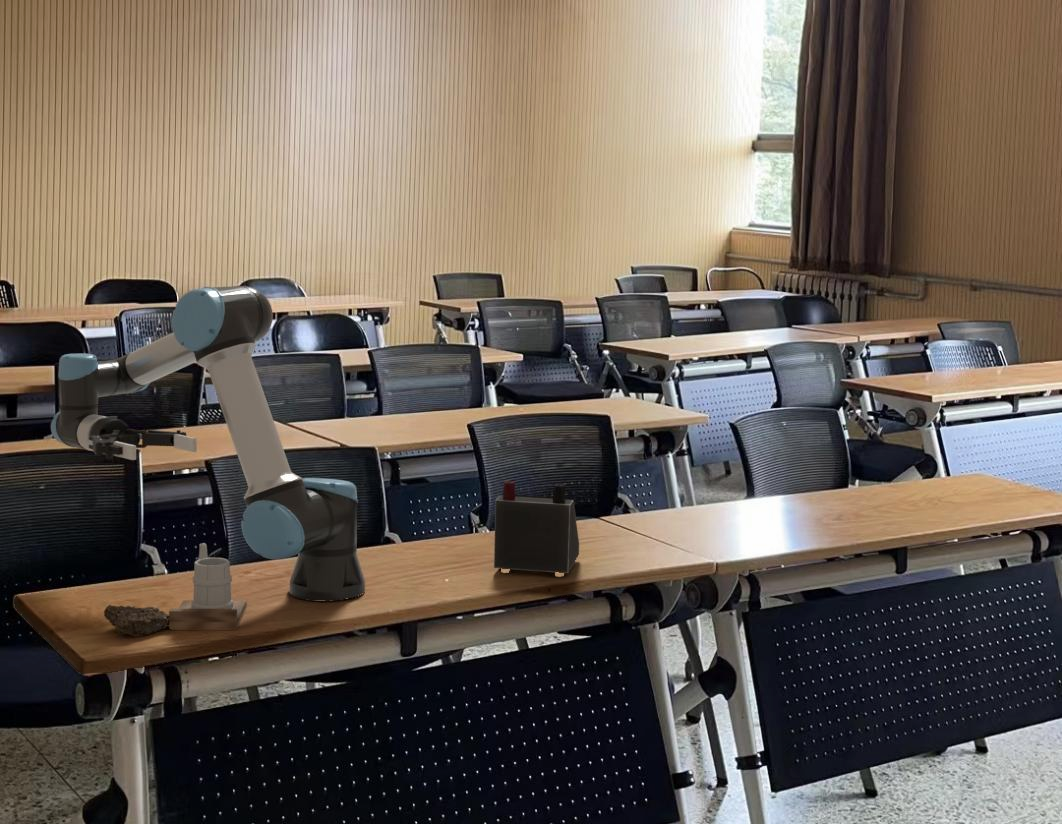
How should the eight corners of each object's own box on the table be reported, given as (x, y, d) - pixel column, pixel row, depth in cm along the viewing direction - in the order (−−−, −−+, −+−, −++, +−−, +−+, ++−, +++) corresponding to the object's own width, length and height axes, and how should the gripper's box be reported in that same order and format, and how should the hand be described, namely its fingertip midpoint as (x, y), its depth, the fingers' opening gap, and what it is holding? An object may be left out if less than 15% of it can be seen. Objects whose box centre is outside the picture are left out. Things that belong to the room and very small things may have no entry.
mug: (198, 621, 251) (197, 557, 250) (180, 604, 262) (179, 543, 260) (239, 616, 255) (238, 553, 254) (219, 600, 265) (219, 539, 264)
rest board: (246, 608, 266) (246, 590, 265) (235, 630, 252) (235, 611, 251) (183, 607, 265) (183, 590, 264) (169, 629, 251) (169, 611, 250)
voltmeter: (578, 561, 309) (581, 473, 306) (567, 579, 293) (570, 487, 290) (508, 556, 311) (510, 469, 309) (493, 574, 295) (495, 482, 293)
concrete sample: (115, 643, 243) (114, 615, 242) (99, 628, 252) (99, 601, 251) (178, 634, 249) (178, 607, 248) (162, 619, 258) (161, 593, 257)
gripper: (158, 446, 289) (218, 460, 276) (48, 460, 271) (108, 476, 257) (157, 411, 288) (218, 423, 275) (47, 423, 270) (107, 436, 256)
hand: (165, 448), depth 266 cm, fingers open, 13 cm apart
